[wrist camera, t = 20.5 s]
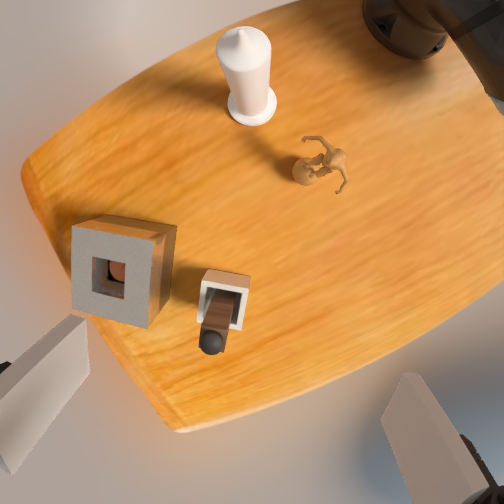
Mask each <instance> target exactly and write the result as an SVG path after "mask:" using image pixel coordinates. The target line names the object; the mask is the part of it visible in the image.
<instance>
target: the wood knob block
mask: <svg viewBox="0 0 504 504" xmlns="http://www.w3.org/2000/svg"><path fill="white" fill-rule="evenodd" d="M235 297H236V292H234V291H228V290H223V289H217V288H216V290H215V292H214V295H213V297H212V300H211V302H210V305H209V307H208V310H207V312H206V315H205V317H204V320H203V322H202V325H201V330H200V339H199V347H198V348H201V350H202V351H203V352H204V353H206V354H208V355H215V354H218V353H219V352H223V353H224V349H225V345H226V340H227V335H228V331H229V326H230V322H231V317H232V312H233V308H234V303H235Z"/></svg>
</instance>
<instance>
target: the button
mask: <svg viewBox="0 0 504 504" xmlns="http://www.w3.org/2000/svg"><path fill="white" fill-rule="evenodd" d="M125 265H126V263H121V262H116V261H112V260H111V261H110V265H109V267H110V272H111V274H112V275H113V277H114V278H115V279H117V280H119V281H122V282H125Z"/></svg>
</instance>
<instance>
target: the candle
mask: <svg viewBox="0 0 504 504" xmlns="http://www.w3.org/2000/svg"><path fill="white" fill-rule="evenodd" d="M216 54H217V58H218V60H219V63H220V65H221V68H222V70H223V73H224V75H225V78H226V80H227V83H228V85H229V88H230V90H231V92H230V94H229V97H228V109H229V112H230V114H231V116H232V117H233V118H234V119H235V120H236V121H237V122H239V123H241V124H243V125H247V126H257V125H261V124H263V123H265V122H267V121H268V120H269V119H270V118H271V117H272V116H273V114H274V112H275V110H276V106H277V100H276V96H275V94H274V92H273V90H272V89H271V88H270V87H269V76H270V61H271V44H270V41H269V39H268V37H267V36H266V35H265V34H264V33H263V32H262V31H260V30H259V29H256V28H254V27H249V26H240V27H235V28H232V29H230V30H228V31H227V32H225V33H224V34H223V35H222V36H221V37H220V39H219V41H218V43H217V46H216Z"/></svg>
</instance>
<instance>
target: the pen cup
mask: <svg viewBox="0 0 504 504" xmlns="http://www.w3.org/2000/svg"><path fill="white" fill-rule="evenodd" d="M250 277H251V276H246V275H240V274H235V273H229V272H224V271H219V270H213V269H208V270H207V272H206V273H205V275H204V277H203V279H202V282H201V290H200V297H199V305H198V313H197V322H199V323H202V322H203V320H204V317H205V315H206V312H207V310H208V307H209V305H210V302H211V300H212V297H213V295H214V292H215V290H216V288H217V289H223V290H228V291H234V292H236V297H235V303H234V308H233V312H232V317H231V322H230V326H229V328H230V329H235V330H241V329H242V324H243V318H244V313H245V308H246V302H247V297H248V291H249V285H250Z"/></svg>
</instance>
